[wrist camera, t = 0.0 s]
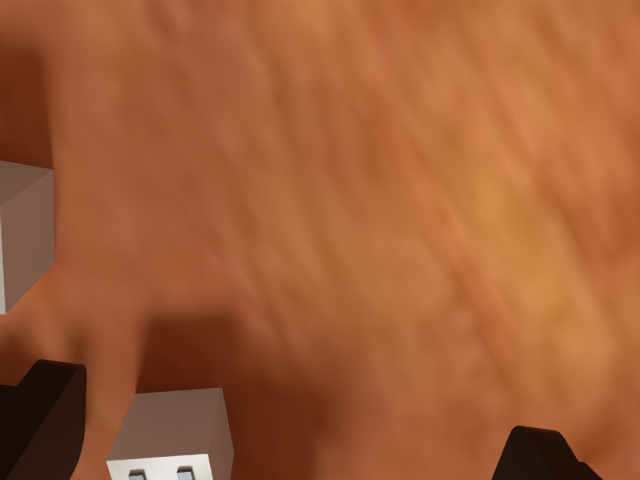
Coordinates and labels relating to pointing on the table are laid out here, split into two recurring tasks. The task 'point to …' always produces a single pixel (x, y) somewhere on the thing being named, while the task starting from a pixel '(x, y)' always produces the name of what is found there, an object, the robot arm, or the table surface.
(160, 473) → the marked cube 1
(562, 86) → the table surface
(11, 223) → the marked cube 2
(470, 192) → the table surface
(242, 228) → the table surface
